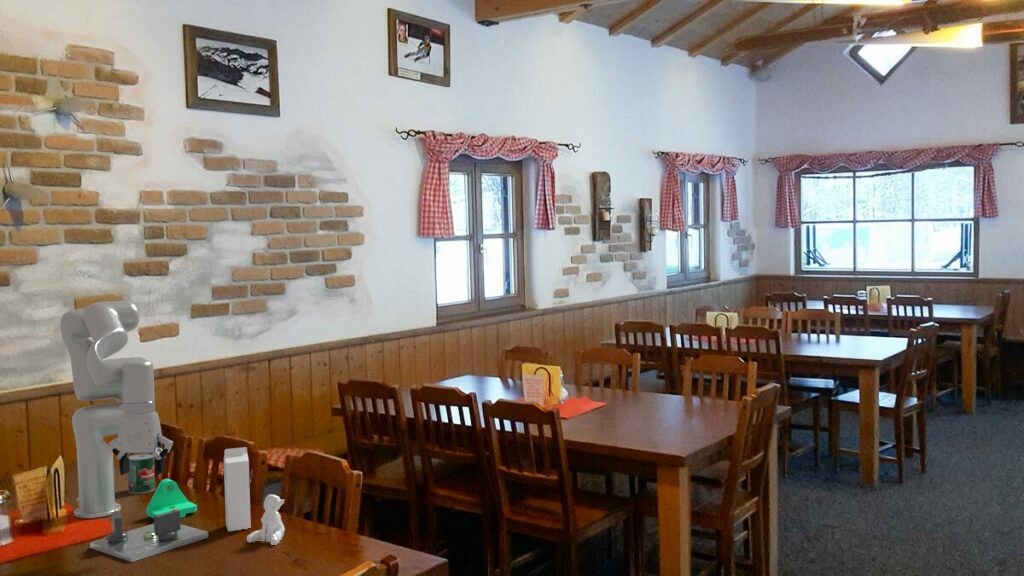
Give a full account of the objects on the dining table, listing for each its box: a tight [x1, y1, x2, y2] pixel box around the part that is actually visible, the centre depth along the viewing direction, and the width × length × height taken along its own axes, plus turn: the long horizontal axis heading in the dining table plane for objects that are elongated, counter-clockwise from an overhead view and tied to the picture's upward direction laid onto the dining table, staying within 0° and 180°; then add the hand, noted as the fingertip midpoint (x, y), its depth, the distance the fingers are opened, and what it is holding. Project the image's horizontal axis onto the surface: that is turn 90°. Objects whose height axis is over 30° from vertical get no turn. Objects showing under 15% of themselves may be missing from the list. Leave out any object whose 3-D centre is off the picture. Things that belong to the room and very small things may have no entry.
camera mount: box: [145, 478, 198, 519], centre depth 258 cm, size 12×8×10 cm, turn 134°
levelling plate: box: [89, 523, 209, 563], centre depth 234 cm, size 19×22×2 cm
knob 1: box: [107, 510, 128, 543], centre depth 232 cm, size 5×6×7 cm
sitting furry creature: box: [246, 494, 286, 546], centre depth 235 cm, size 10×9×12 cm
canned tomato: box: [127, 453, 156, 495], centre depth 286 cm, size 8×8×11 cm
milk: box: [223, 446, 252, 532], centre depth 246 cm, size 6×6×22 cm
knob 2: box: [153, 508, 181, 541], centre depth 233 cm, size 5×6×7 cm
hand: (142, 473), depth 232 cm, fingers open, 9 cm apart
